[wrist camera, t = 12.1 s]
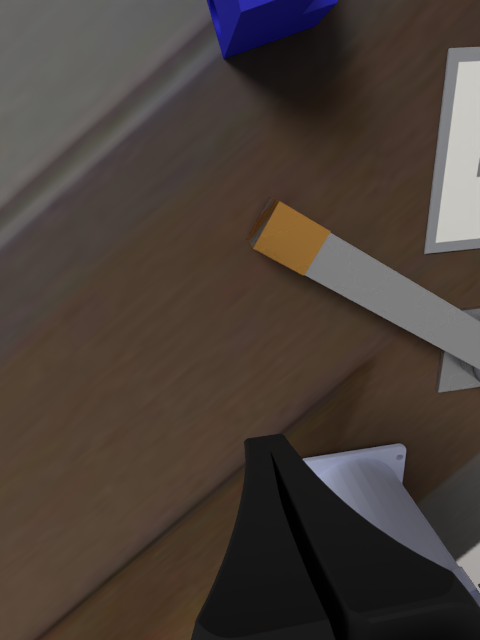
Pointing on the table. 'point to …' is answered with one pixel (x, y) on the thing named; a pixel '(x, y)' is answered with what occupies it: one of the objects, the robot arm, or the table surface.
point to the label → (457, 158)
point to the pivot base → (455, 367)
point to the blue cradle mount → (262, 21)
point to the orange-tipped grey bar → (365, 281)
